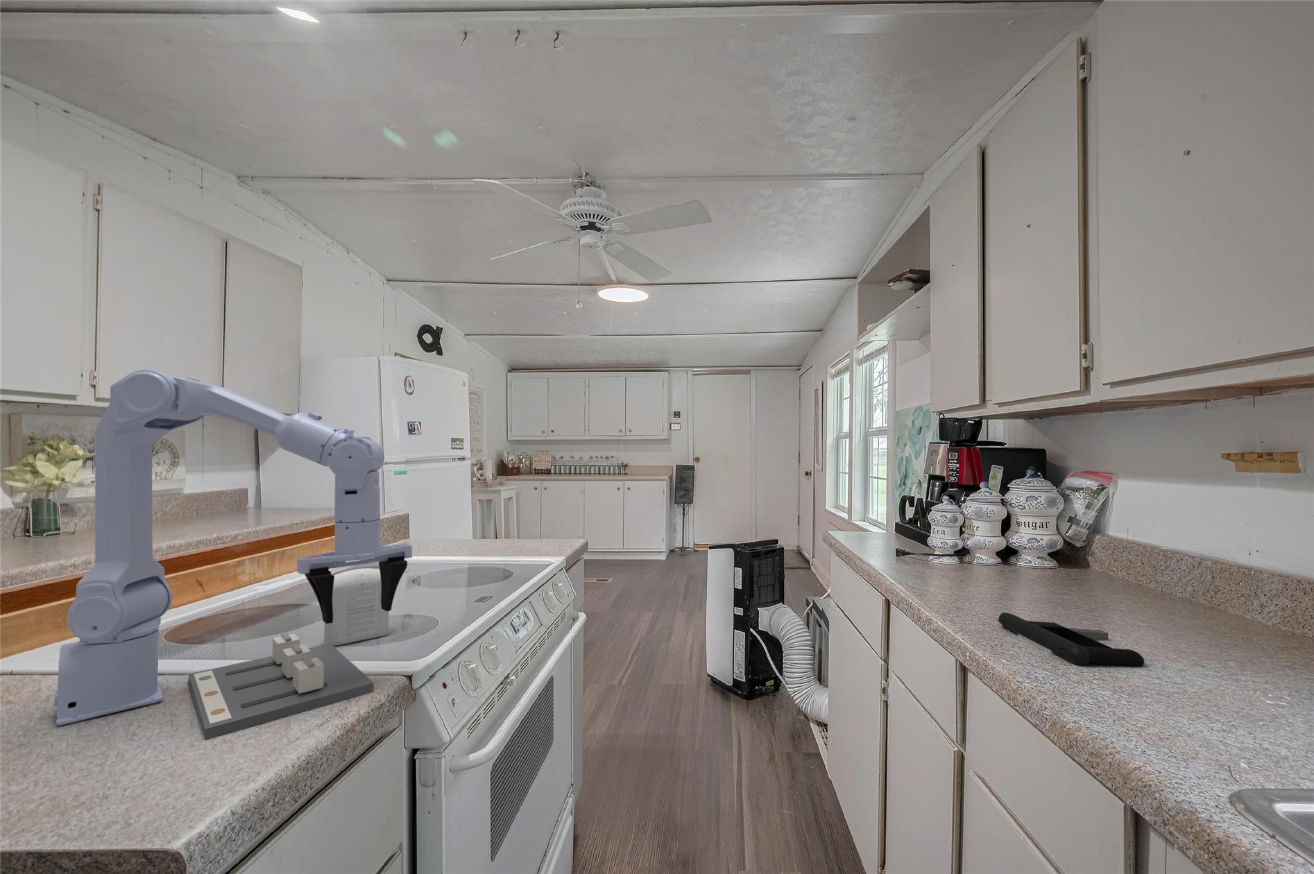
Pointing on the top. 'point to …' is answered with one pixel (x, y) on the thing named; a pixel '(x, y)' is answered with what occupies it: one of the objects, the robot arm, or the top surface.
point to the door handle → (1070, 642)
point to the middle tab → (293, 657)
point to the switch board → (269, 691)
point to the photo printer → (356, 608)
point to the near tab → (308, 674)
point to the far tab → (283, 645)
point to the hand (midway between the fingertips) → (358, 615)
